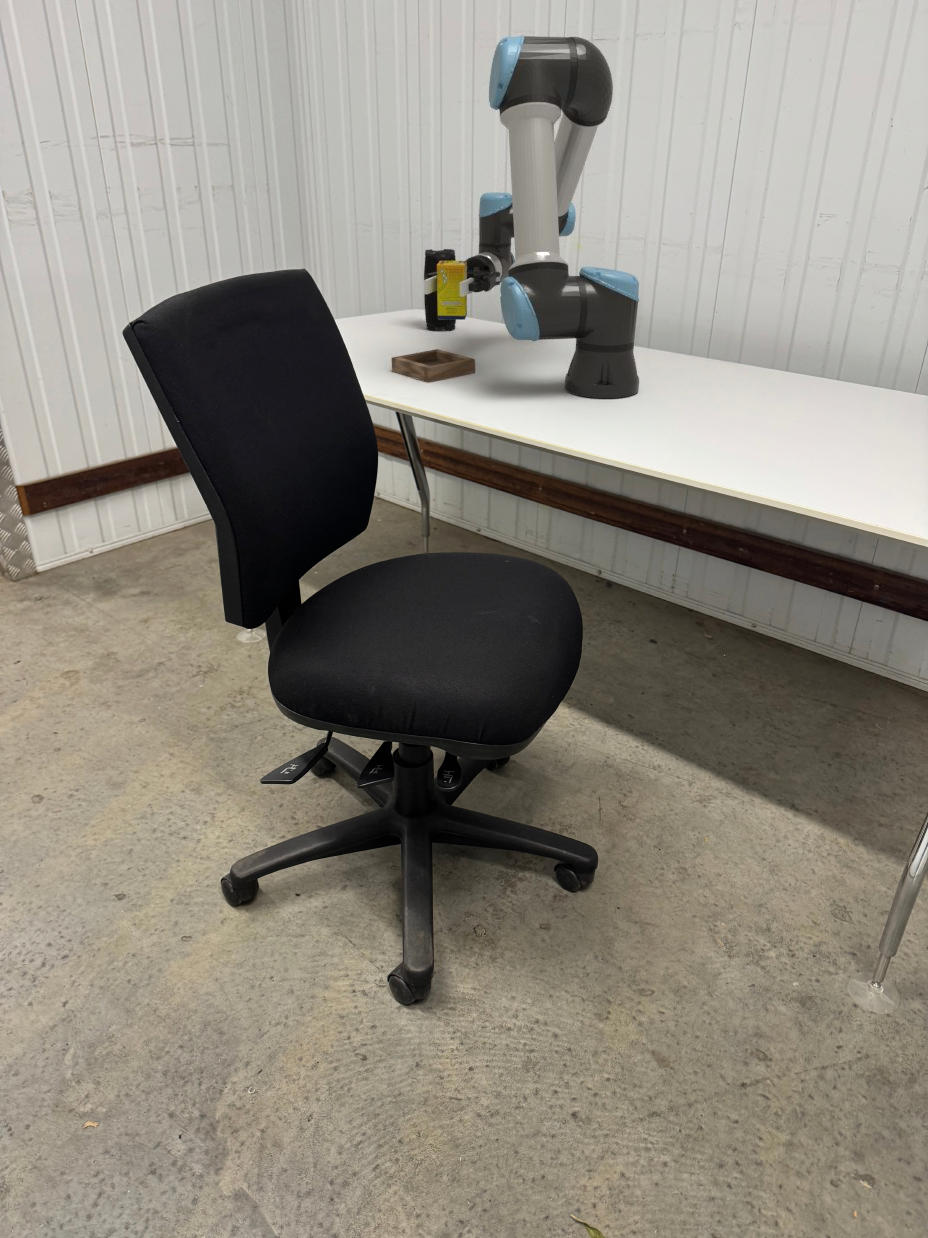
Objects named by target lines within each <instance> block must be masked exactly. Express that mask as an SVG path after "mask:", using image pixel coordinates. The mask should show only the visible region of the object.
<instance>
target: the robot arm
mask: <svg viewBox="0 0 928 1238" xmlns="http://www.w3.org/2000/svg"><path fill="white" fill-rule="evenodd" d="M610 68H611V67H610V66H609V63H608V61H607V59H606V57H605V56H604V54H603V53H602V51H601V50H600V48H598V47H597V46H596V45H595V44H594V43H592V42H591V41H589V40H587V39H585V38H583V37H579V36H567V37H566V36H565V37H564V36H562V37H561V36H534V35H533V36H530V35H529V36H528V35H524V34H522V35H520V36H519V35H518V36H505V37H503V38H501V39H500V40H499V42H498V43H497V45H496V47H495V50H494V53H493V58H492V63H491V68H490V74H489V86H488V103H489V107H490V108H491V109H493V110H495V111H497V110H498V111H499V121H500V123H501V124H502V125H503V126H504V127H505V128H506V129H507V131H508V145H509V159H510V160H509V164H510V180H511V181H510V184H511V193H509V192H485V193H483V194H482V195H481V196H480V198H479V208H478V212H479V213H478V238H479V239H478V240H479V241H478V254H476V255H474V256H470V257H468V258H467V259H465V261H467V280H464V281H462V282H460V297H464V296H466V295H467V296H468V295H470V294H472V293H481V292H485V293H486V292H490V291H491V290H492V289H493V288H495V287H496V286H499V285H500V289H499V291H500V297H499V298H500V307H501V314H502V318H503V319H502V320H503V323H504V325H505V329H506V330H507V333H508V334H509V335H510V336H511V337H512V338H514V340H517V341H532V342H537V341H540V340H541V341H542V340H569V339H575V350H574V353H573V356H572V357H571V361H570V363H569V366H568V371H567V373H566V375H565V377H564V390H566V391H567V392H568V393H571V394H573V395H576V396H581V397H585V398H586V397H587V398H593V399H619V398H625V397H630V396H633V395H636V394H637V393H638V392H639V388H640V378H639V375H638V369H637V364H636V359H635V354H634V349H635V348H634V347H635V337H636V329H637V326H636V325H637V317H638V307H639V302H640V298H639V292H640V291H639V288H640V287H639V286H640V282H639V279H638V277H636V276H635V275H634V274H632V273H630V272H626V271H622V270H621V271H620V270H616V269H612V268H611V269H610V268H606V267H605V268H603V267H595V266H583V267H581V268H580V270H579V271H578V274H579V275H570V274H569V263H568V262H567V261H565V259H564V258H562V257H561V254H560V252H561V250H560V249H561V248H560V237H569V236H570V235H571V234H573V232H574V230H575V224H576V218H577V217H576V215H577V213H576V208H575V205H574V204H573V202H572V201H573V199H574V195H575V192H576V190H577V187H578V184H579V181H580V178H581V176H582V172H583V170H584V167H585V165H586V161H587V158H588V157H589V152H590V151H591V147H592V145H593V141H594V138H595V136H596V133H597V130H598V127H599V126H601V125H602V124H603V123H604V122H605V121H606V119H607V117H608V116H609V115H608V114H609V113H610V112H609V111H610V108H611V105H612V101H613V91H614V83H613V77H612V73H611V69H610ZM559 119H560V122H559V125H558V129H557V132H556V135H555V128H554V127H555V124H556V123H557V122H558V120H559ZM513 238H514V239H513ZM512 239H513V240H514V254H513V252H512ZM432 292H437V272H433V273H430V274H426V275H425V280H424V279H423V294H429V293H432Z"/></svg>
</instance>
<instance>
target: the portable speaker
mask: <svg viewBox="0 0 928 1238" xmlns="http://www.w3.org/2000/svg"><path fill="white" fill-rule="evenodd" d="M424 255H425V256H424V269H423V281H424V280H425V275H426V274H430V273H433V272H437V264H438V263H439V261H457V259H456V258H457V257H456V250H455V249H453V248H444V249H442V250H440V249H439V250H433V249H425V251H424ZM423 294H424V293H423ZM423 296H424V297H423V298H424V315H425V323H426V330H429V331H432V332H434V331H435V330H436V329H445V331H447V332H450V331H454V330H455V329H456V323H457V320H446V319H443V320H442V319H438V302H437V292H432V293H429V294H424V295H423Z"/></svg>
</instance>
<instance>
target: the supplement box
mask: <svg viewBox="0 0 928 1238" xmlns="http://www.w3.org/2000/svg"><path fill="white" fill-rule="evenodd" d="M464 280H467V261H466V260H456V261H439V263H438V264H437V302H438V319H442V320H443V319H446V320H456V321H457V320H466V318H467V315H468V301H467V300H468V295H466V296H464V297H460V282H462V281H464Z"/></svg>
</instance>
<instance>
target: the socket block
mask: <svg viewBox="0 0 928 1238" xmlns="http://www.w3.org/2000/svg"><path fill="white" fill-rule="evenodd" d="M391 371H392V372H393V373H397V374H399V375H402V376H406V377H409V378H412V379H416V380H418V381H419V380H420V381H423V382H426V383H434V382H438V381H443V380H448V379H453V378H457V377H462V376H467V375H472V374H475V373H476V358H473V357H468V356H465V355H460V354H457V353H453V352H449V351H446V350H442V349H437V348H436V349H432V350H431V349H430V350H424V351H421V352H414V353H409V354H404V355H399V356H393V357H391Z"/></svg>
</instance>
